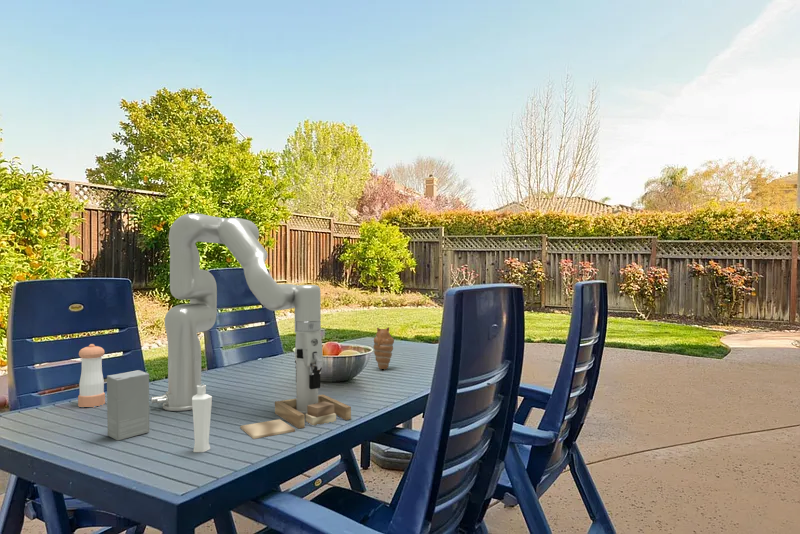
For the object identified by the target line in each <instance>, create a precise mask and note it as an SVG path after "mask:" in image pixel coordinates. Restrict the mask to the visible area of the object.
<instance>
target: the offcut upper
mask: <svg viewBox="0 0 800 534" xmlns="http://www.w3.org/2000/svg"><path fill="white" fill-rule="evenodd" d="M333 413H334V404H332V403H329V402H325V401H324V402H320V403H316V404H311V405H307V414H308V415H311V416H314V417H321V416H325V415H329V414H333Z"/></svg>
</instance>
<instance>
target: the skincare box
mask: <svg viewBox="0 0 800 534" xmlns="http://www.w3.org/2000/svg"><path fill="white" fill-rule="evenodd" d="M106 403H107V404H106V406H107V408H106V409H107V410H106V411H107V413H106V415H107V436H108V437H110V438H112V439H114V440H115V441H122V440H126V439H129V438H132V437H136V436H140V435H144V434H148V433H150V374H149V373H148V372H145V371H143V370H140V369H137V370H133V371H127V372H120V373H116V374H110V375H109V374H108V375H106Z"/></svg>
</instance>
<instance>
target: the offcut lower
mask: <svg viewBox="0 0 800 534" xmlns="http://www.w3.org/2000/svg"><path fill="white" fill-rule="evenodd" d="M334 421H336V422H337V415H336V414H335V413H333V414H329V415H325V416H321V417H314V416H311V415H308V414H306V417H305V423H307V422H308V423H307V424H309V423H310V424H309V425H311V426H312V425H314V426H318V425H317V424H320V425H324V423H326V424H330V423H329V422H331V423H335V422H334Z"/></svg>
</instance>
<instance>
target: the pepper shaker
mask: <svg viewBox="0 0 800 534" xmlns="http://www.w3.org/2000/svg"><path fill="white" fill-rule="evenodd" d="M104 355H105V348H103V347H101V346H99V345H95V343H90V344H89V345H88V346H85V347H83V348H81V349H80V350H79V352H78V356H79V358H81V372H80V373H81V374H80V379H79V385H78V387H79V388H78V389H79V395H77V406H79V407H93V408H95V407H94V406H99V407H101V406H100V405H102V406H104V405H105V404H106V393H105V392H104V391H105V380H104V375H103V367H102V365H103V364H102V363H103V362H102V361H103V358H102V357H103V356H104ZM103 404H104V405H103ZM79 407H78V408H79Z"/></svg>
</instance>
